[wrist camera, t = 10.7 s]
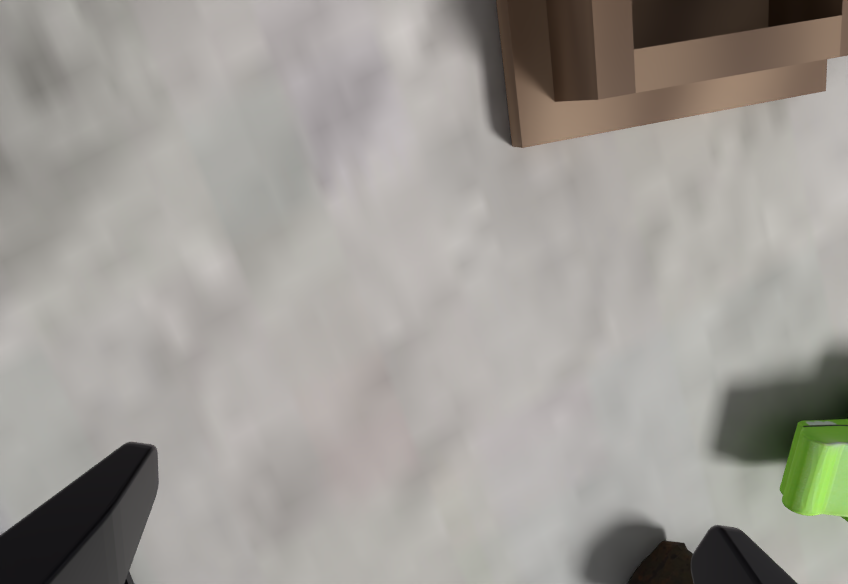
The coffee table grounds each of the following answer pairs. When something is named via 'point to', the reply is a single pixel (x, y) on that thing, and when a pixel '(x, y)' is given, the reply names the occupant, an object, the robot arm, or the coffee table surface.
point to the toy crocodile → (817, 469)
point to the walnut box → (657, 59)
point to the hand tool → (665, 566)
